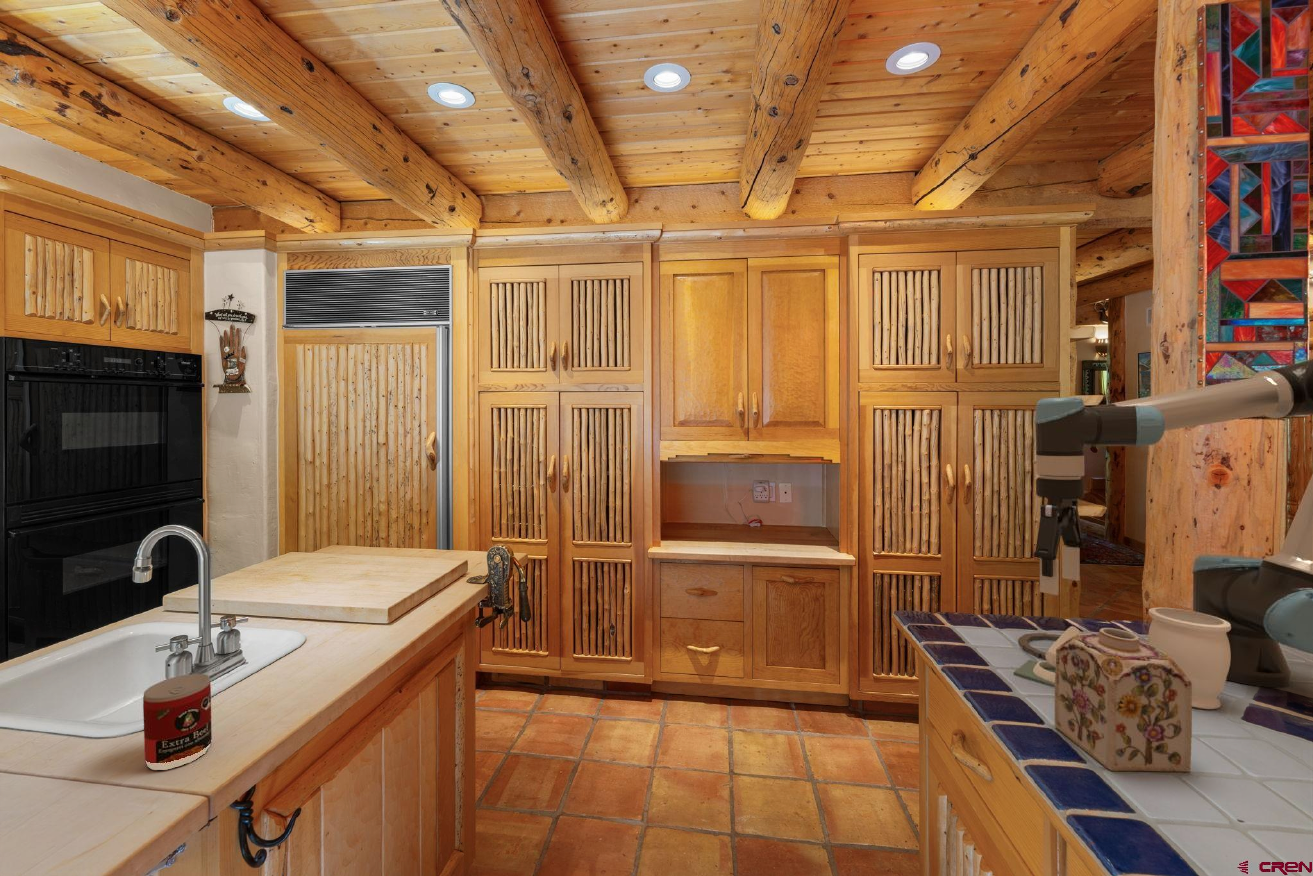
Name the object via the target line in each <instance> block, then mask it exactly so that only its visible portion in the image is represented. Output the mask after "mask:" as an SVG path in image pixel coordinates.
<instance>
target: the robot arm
mask: <svg viewBox="0 0 1313 876" xmlns="http://www.w3.org/2000/svg"><path fill="white" fill-rule="evenodd" d="M1034 410H1035V412H1034V413H1035V414H1034V428H1035V429H1034V430H1035V431H1034V432H1035V458H1034V459H1033V460H1032V463H1033V464H1034V465H1036V466H1035V474H1036V475H1037V476H1038V477H1037V478H1036V479H1035V494H1036V496H1037V497H1038V498H1039V497H1040V498H1044V499H1045V498H1046V499H1047V503H1046V504H1041V505H1040V518H1039V519H1040V520H1039V525H1038V532H1037V539H1036V546H1035V551H1034V552H1033V557H1034V558H1038V559H1039V593H1043V594H1049V595H1054V596H1058V595H1059V559H1058V558H1057V555H1058V551H1059V547H1060V542H1061V539H1062V542H1063V545H1062V546H1061V556H1062V558H1061V560H1062V561H1061V569H1062V571H1061V572H1062V574H1061V575H1062V577H1061V578H1062V579H1065V580H1067V579H1068V580H1072V581H1080V580H1081V579H1080V578H1081V575H1080V573H1081V571H1080V570H1081V569H1080V568H1081V567H1080V565H1081V564H1080V561H1081V559H1080V552H1081V551H1080V548H1085V544H1086V542H1083V541H1084V538H1083V533H1082V528H1081V527H1082V526H1081V522H1080V521H1081V520H1080V515H1079V508H1078V507H1079V501H1078V500H1081V499H1083V498H1084V497H1085V480H1083V478H1082V477H1084V476H1085V447H1136V448H1138V447H1140V446H1152V445H1155V444H1157V443H1159V442H1160V441H1161V440H1162V438H1163V436H1164V435H1165V432H1166V431H1172V430H1179V429H1186V428H1191V427H1197V426H1198V427H1199V426H1204V425H1205V426H1206V425H1210V424H1217V423H1222V422H1229V421H1235V420H1241V419H1247V418H1253V417H1260V416H1265V417H1268V418H1270V419H1280V418H1284V417H1295V416H1313V358H1311V359H1307V360H1304V361H1301V362H1297V363H1293V364H1289V365H1285V366H1280V367H1277V368H1271V369H1266V370H1261V371H1259V372H1257V373H1256V374H1254V375H1253V376H1252V377H1250V378H1245V379H1239V380H1233V381H1229V382H1223V383H1218V384H1217V383H1216V384H1211V385H1205V386H1200V387H1196V388H1190V389H1189V388H1188V389H1185V390H1179V391H1173V392H1166V393H1161V394H1155V395H1151V396H1146V397H1145V396H1144V397H1140V398H1139V397H1138V398H1133V399H1128V400H1123V401H1117V402H1112V403H1108V404H1101V405H1095V406H1086V405H1085V403H1084V399H1083V398H1082V397H1080V396H1078V397H1077V396H1075V397H1071V396H1070V397H1049V398H1048V397H1047V398H1042V399H1039V400H1038V401H1037V402H1036V404H1035V409H1034ZM1191 571H1192V575H1193V576H1192V577H1193V579H1192V581H1193V583H1192V585H1193V587H1192V611H1194V612H1198V613H1203V614H1207V615H1211V616H1214V617H1217V618H1220V619H1223V620H1225V621H1227V622H1229V623H1230V624H1231V625H1230V626H1231V630H1230V631H1228V632H1226V635H1227V637H1228V640H1229V645H1230V652H1231V660H1230V667H1229V671H1228V674H1227V677H1226V681H1227V680H1228V681H1231V682H1236V683H1241V684H1244V685H1251V686H1258V687H1266V688H1267V687H1268V688H1282V687H1287V686H1290V684H1291V673H1292V672H1291V669H1290V666H1289V665H1288V662H1287V660H1286V658H1285V655H1284V653H1283V650H1282V648H1281V646H1280V645H1283V646H1287V647H1290V648H1292V649H1297V650H1299V651H1301V652H1305V653H1308V654H1313V473H1312V475H1311V478H1310V479H1309V482H1308V484H1307V487H1306V489H1305V491H1304V494H1303V495H1302V499H1301V501H1300V504H1299V505H1298V508H1297V511H1296V513H1295V515H1294V517H1293V520H1292V523H1291V524H1290V527H1289V529H1288V532H1287V534H1286V537H1285V538H1284V542H1283V544H1282V546H1281V549H1280V550H1279V552H1278V553H1276V554H1274V555H1270V556H1267V557H1263V558H1259V557H1252V556H1251V557H1249V556H1238V555H1221V554H1201V555H1198V556H1197V557H1196V558H1195V559H1194V562H1193V567H1192V570H1191Z"/></svg>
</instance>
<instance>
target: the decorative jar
mask: <svg viewBox="0 0 1313 876" xmlns="http://www.w3.org/2000/svg"><path fill="white" fill-rule="evenodd" d="M1192 720H1193V710H1192V683H1191V681H1190V680H1189V678H1188V677H1187V676H1186V675H1185V673H1184V672H1183V671H1182V670H1181V669H1180V667H1179V666H1178V665H1177V664H1176V663H1175V661H1174V660H1173V659H1172V658H1171V656H1170V655H1169V654H1167V653H1165V652H1163V651H1161V650H1159V649H1157V648H1155V647H1153V646H1151V645H1149V644H1148V642H1145V641H1144V642H1143V641H1141V640H1140V637H1139V636H1138V635H1137V634H1135V633H1133V632H1130V631H1127V630H1122V629H1119V628H1112V627H1102V628H1100V629H1099V631H1098V632H1089V633H1088V632H1086V633H1085V632H1084V633H1083V632H1082V634H1077V635H1075V636H1074V637H1072V638H1070V639H1069V640H1067V641H1066V642H1064V643H1063V644H1062V645H1060V647H1058V648H1057V649H1056V664H1055V687H1054V727H1055V729H1057V730H1058V731H1060V732H1061V733H1063V734H1064V735H1065V736H1066V737H1067V738H1069V740H1071V741H1072V742H1073V743H1075V744H1076V745H1077V746H1078V747H1080V748H1081V750H1083V751H1085V752H1086V753H1087V754H1089V755H1090V756H1091V757H1093V758H1094V759H1095V760H1096V761H1097V762H1099V763H1100V764H1102V765H1103V766H1104V767H1105V768H1106V769H1108V770H1109V771H1112V772H1116V771H1117V772H1118V771H1119V772H1123V771H1124V772H1133V771H1135V772H1136V771H1137V772H1138V771H1139V772H1140V771H1141V772H1178V773H1179V772H1180V773H1182V772H1185V773H1189V772H1190V771H1191V764H1192V758H1191V757H1192V737H1193V735H1192V734H1193V733H1192V732H1193V730H1192V727H1193V726H1192V725H1193V724H1192V723H1193V722H1192Z"/></svg>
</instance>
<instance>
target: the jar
mask: <svg viewBox="0 0 1313 876" xmlns="http://www.w3.org/2000/svg"><path fill="white" fill-rule="evenodd" d="M1148 616H1149V617H1150V618H1151V619H1152V620H1151V623H1150V626H1149V630H1148V634H1147V636H1148V637H1147V644H1149V645H1151V646H1153V647H1155V648H1157V649H1159V650H1161V651H1163V652H1165V653H1167V654H1169V655H1170V656H1171V658H1172V659H1173V660H1174V661H1175V663H1176V664H1177V665H1178V666H1179V667H1180V669H1181V670H1182V671H1183V672H1184V673H1185V675H1186V676H1187V677H1188V678H1189V680H1190V681H1191V683H1192V707H1193V708H1196V709H1203V710H1204V709H1205V710H1215V709H1216V710H1217V709H1219V708H1220V707H1221V702H1220V700H1219V699H1218V696H1219V695H1220V694H1221V692H1222V691H1223V690H1224V688H1225V685H1226V682H1227V680H1226V677H1227V674H1228V671H1229V667H1230V660H1231V652H1230V645H1229V640H1228V637H1227V635H1226V632H1228V631H1230V630H1231V626H1230V625H1231V624H1230V623H1229V622H1227V621H1225V620H1223V619H1220V618H1217V617H1214V616H1211V615H1207V614H1203V613H1198V612H1194V611H1193V610H1188V609H1180V608H1171V607H1151V608H1149V609H1148Z"/></svg>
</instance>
